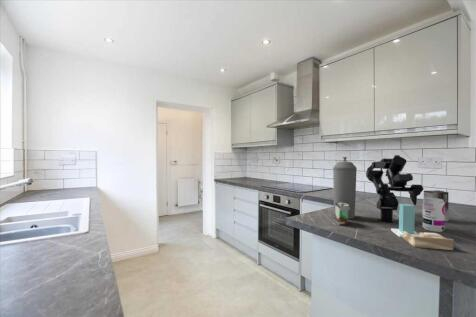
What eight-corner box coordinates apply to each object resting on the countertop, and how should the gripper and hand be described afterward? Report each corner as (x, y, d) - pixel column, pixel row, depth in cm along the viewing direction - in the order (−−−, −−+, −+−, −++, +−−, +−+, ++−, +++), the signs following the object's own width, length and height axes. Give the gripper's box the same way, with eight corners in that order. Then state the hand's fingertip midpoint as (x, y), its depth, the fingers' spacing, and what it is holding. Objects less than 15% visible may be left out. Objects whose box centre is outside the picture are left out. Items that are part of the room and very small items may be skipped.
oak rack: (402, 237, 101) (403, 228, 101) (437, 240, 98) (437, 231, 98) (414, 247, 91) (414, 236, 91) (453, 250, 88) (453, 239, 88)
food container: (352, 226, 116) (352, 207, 116) (339, 226, 118) (339, 206, 117) (346, 219, 128) (346, 202, 128) (334, 219, 130) (334, 201, 129)
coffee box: (438, 218, 132) (438, 190, 131) (448, 221, 125) (449, 192, 125) (422, 218, 131) (423, 190, 131) (432, 221, 125) (433, 192, 125)
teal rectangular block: (398, 230, 108) (399, 203, 108) (409, 231, 107) (410, 204, 107) (402, 233, 104) (403, 205, 104) (414, 234, 103) (414, 206, 103)
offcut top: (424, 237, 98) (424, 232, 98) (435, 237, 97) (435, 233, 97) (434, 243, 91) (434, 238, 91) (446, 244, 90) (446, 239, 90)
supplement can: (444, 229, 112) (445, 198, 112) (444, 233, 106) (444, 201, 106) (423, 225, 118) (423, 196, 118) (421, 229, 112) (422, 198, 112)
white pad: (391, 230, 111) (391, 228, 111) (412, 231, 109) (412, 229, 109) (399, 237, 102) (399, 234, 102) (423, 238, 100) (423, 236, 100)
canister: (335, 213, 143) (335, 156, 142) (358, 216, 136) (358, 156, 135) (329, 217, 133) (330, 157, 132) (354, 221, 125) (355, 157, 125)
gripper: (378, 167, 114) (386, 193, 104) (422, 167, 110) (435, 195, 100) (372, 181, 122) (380, 206, 112) (413, 182, 118) (424, 208, 108)
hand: (404, 204), depth 108 cm, fingers open, 9 cm apart
